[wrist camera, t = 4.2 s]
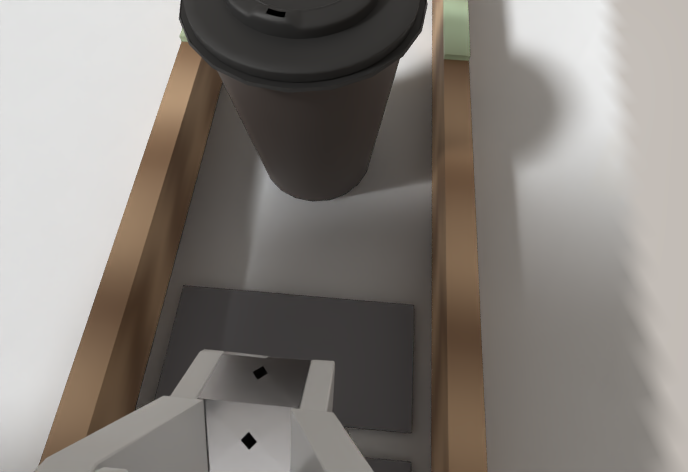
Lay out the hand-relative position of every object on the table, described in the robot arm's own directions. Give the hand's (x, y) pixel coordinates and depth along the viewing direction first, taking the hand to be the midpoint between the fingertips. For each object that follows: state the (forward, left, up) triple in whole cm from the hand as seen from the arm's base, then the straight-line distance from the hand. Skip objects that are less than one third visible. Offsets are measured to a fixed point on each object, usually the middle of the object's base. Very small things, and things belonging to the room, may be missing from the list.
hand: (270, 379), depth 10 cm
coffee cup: (-4, +11, -8) cm, 15 cm away
